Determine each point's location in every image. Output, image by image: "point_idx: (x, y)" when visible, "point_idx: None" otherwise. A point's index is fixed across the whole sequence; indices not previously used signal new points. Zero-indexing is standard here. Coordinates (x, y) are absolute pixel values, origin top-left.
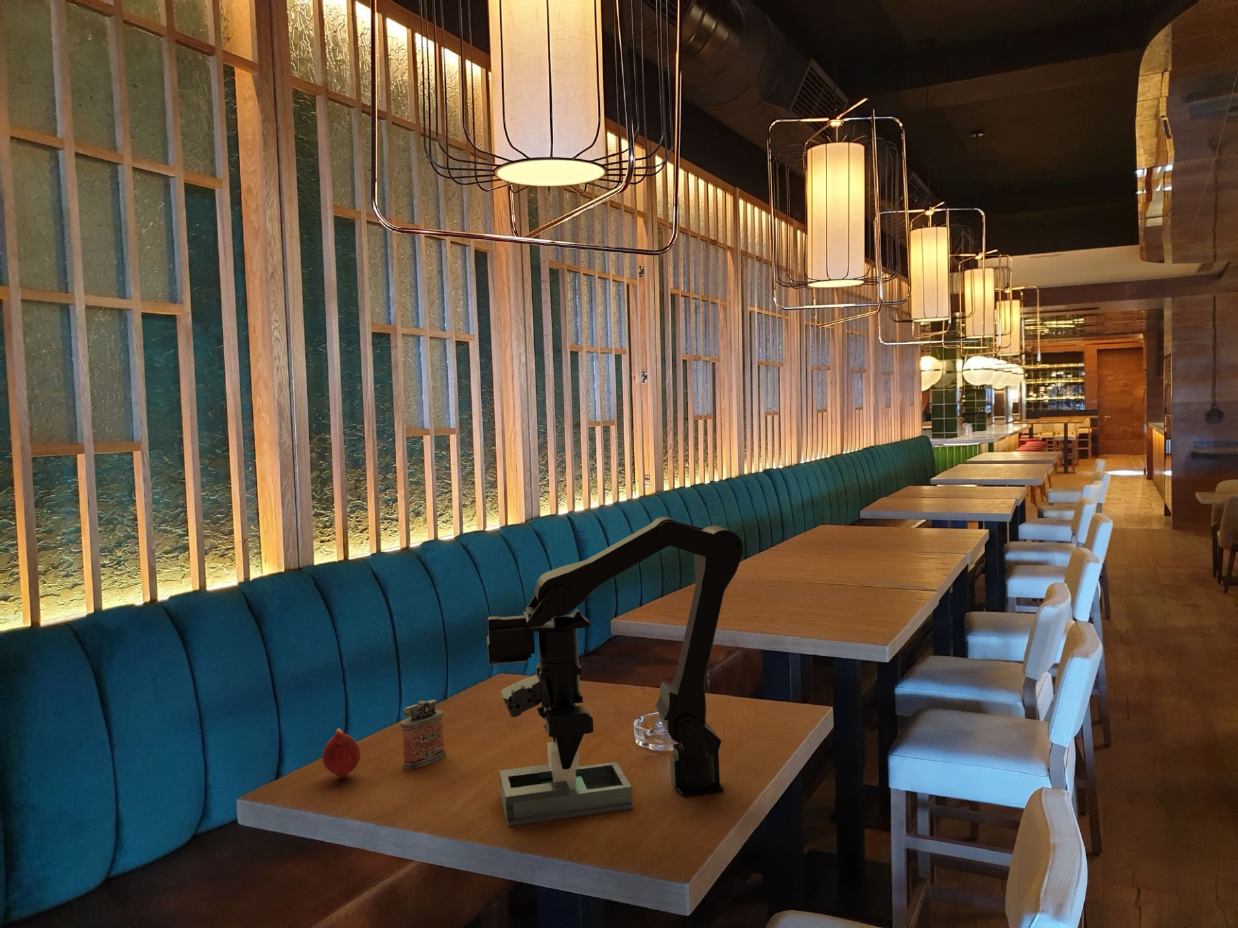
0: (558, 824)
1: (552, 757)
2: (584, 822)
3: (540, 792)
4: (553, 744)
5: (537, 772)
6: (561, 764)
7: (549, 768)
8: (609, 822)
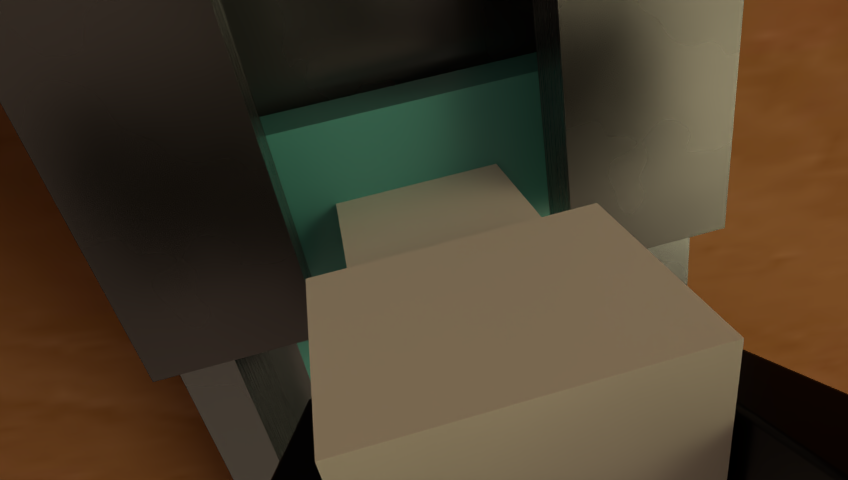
0: (41, 198)
1: (315, 407)
2: (94, 343)
3: (27, 141)
4: (637, 427)
5: (566, 56)
6: (312, 423)
7: (627, 165)
8: (108, 455)
